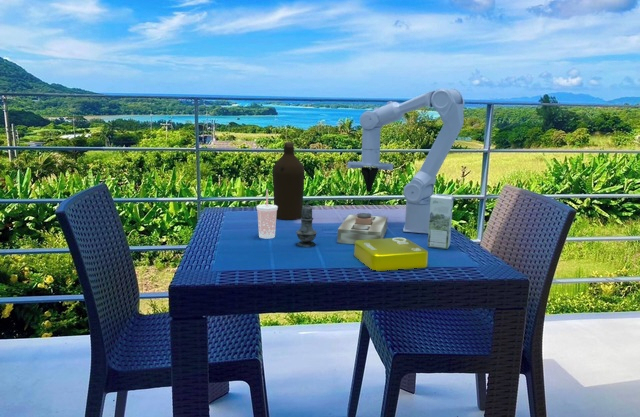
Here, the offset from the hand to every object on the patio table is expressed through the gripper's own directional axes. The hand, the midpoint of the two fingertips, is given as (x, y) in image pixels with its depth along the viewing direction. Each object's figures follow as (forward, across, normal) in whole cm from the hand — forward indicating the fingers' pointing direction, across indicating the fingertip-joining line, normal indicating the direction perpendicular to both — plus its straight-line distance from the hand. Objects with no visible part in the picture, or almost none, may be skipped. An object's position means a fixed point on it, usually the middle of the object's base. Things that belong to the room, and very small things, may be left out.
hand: (369, 191), depth 183 cm
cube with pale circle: (+10, +1, -24) cm, 27 cm away
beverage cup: (+11, -26, -27) cm, 39 cm away
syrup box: (+11, +23, -23) cm, 34 cm away
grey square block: (+10, +1, -18) cm, 21 cm away
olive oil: (+11, -27, 0) cm, 29 cm away
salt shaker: (+11, -13, -32) cm, 36 cm away
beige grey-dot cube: (+8, +1, -18) cm, 20 cm away
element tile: (+11, +11, -41) cm, 44 cm away
